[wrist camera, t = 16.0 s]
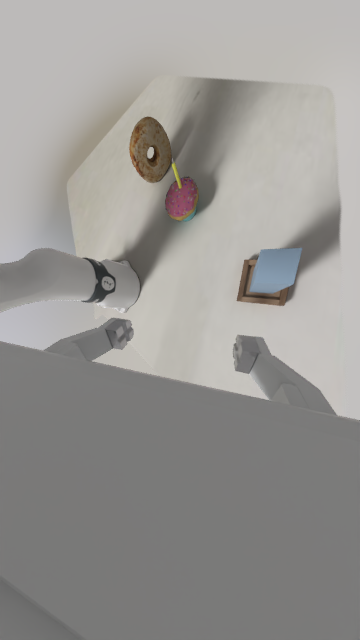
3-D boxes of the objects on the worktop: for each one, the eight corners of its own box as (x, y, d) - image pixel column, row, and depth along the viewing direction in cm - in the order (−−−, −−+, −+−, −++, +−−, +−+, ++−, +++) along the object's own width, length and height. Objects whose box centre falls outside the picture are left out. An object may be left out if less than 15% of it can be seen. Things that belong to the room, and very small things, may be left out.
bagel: (153, 193, 39) (127, 159, 30) (147, 184, 40) (120, 149, 31) (178, 159, 35) (157, 108, 26) (172, 150, 36) (149, 97, 27)
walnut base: (237, 301, 32) (236, 300, 30) (244, 263, 31) (244, 259, 28) (280, 305, 28) (284, 305, 26) (291, 263, 27) (295, 259, 25)
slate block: (249, 291, 29) (254, 282, 19) (253, 271, 29) (261, 249, 18) (272, 293, 28) (293, 284, 17) (277, 272, 27) (302, 247, 16)
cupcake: (188, 188, 35) (165, 134, 24) (210, 205, 33) (195, 154, 22) (169, 218, 38) (140, 182, 27) (187, 235, 36) (165, 204, 25)
